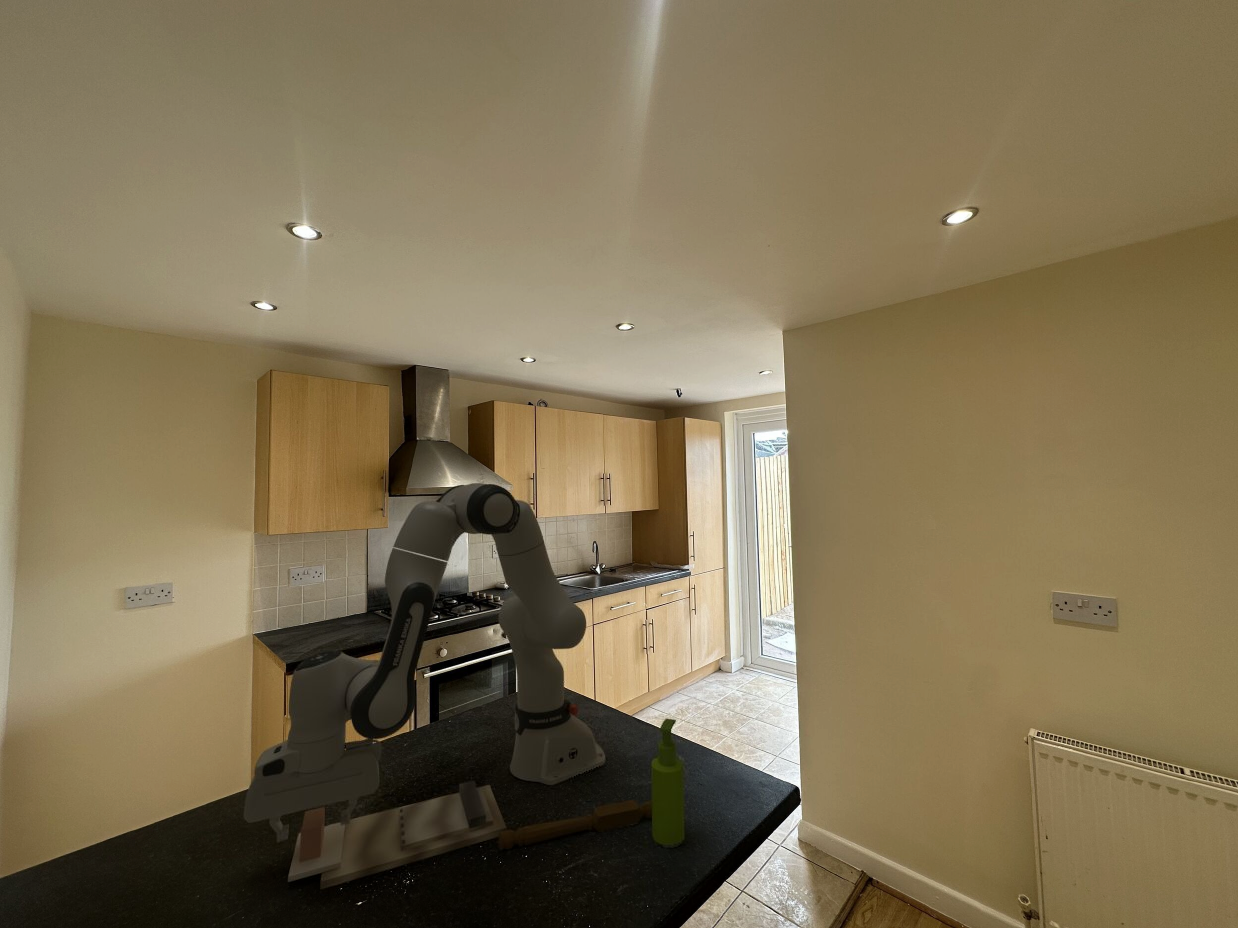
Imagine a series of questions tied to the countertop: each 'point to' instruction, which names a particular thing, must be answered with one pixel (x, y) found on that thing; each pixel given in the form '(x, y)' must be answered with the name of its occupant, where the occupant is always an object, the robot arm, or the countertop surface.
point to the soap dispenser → (667, 790)
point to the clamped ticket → (416, 832)
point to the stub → (316, 846)
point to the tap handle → (578, 824)
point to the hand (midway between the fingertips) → (314, 830)
